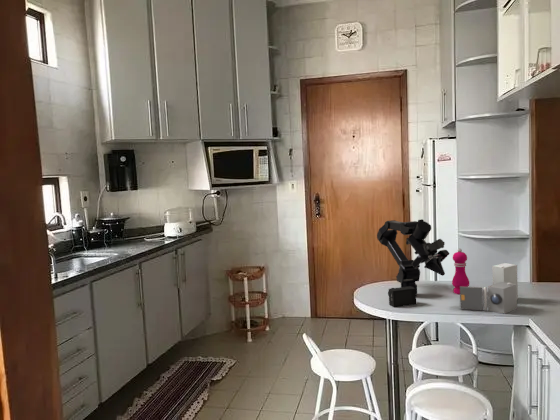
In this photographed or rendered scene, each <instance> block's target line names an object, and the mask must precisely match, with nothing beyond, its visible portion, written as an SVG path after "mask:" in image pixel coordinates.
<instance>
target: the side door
mask: <svg viewBox="0 0 560 420" xmlns="http://www.w3.org/2000/svg"><path fill="white" fill-rule="evenodd" d="M459 299H460V300H459V302H460V310H473V311H483V310H484V311H488V287H485V286H484V287H482V286H468V287H461V286H460V294H459Z"/></svg>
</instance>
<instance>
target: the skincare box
mask: <svg viewBox="0 0 560 420" xmlns="http://www.w3.org/2000/svg"><path fill="white" fill-rule="evenodd" d="M491 268H492V269H491V270H492V273H491V274H492V285H494V284H497V283H500V282H504V283H512V284H516V290H517V300H519V290H518V286H519V285H518V264H513V263H508V262H503V263H500V264H496V265H491Z"/></svg>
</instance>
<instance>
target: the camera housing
mask: <svg viewBox="0 0 560 420" xmlns="http://www.w3.org/2000/svg"><path fill="white" fill-rule="evenodd" d="M487 298H488V311H490V312H494V313H498V314H503V313H504V315H505V314H507V313H510V312H512V311H514V310H517V309H518V304H517V303H518V299H517V290H516V284H512V283H504V282H500V283H497V284H494V285H493V284H491V285H488V287H487ZM509 311H510V312H509Z"/></svg>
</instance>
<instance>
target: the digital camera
mask: <svg viewBox="0 0 560 420" xmlns="http://www.w3.org/2000/svg"><path fill="white" fill-rule="evenodd" d="M387 291H388V292H387V295H388V305H389V306H390V307H392V308H400V307H407V306H415V305H417V296H416V295H417V294H416V288H414V287H411V286H408V287H401V286H400V287H391V288H388V290H387Z"/></svg>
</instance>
